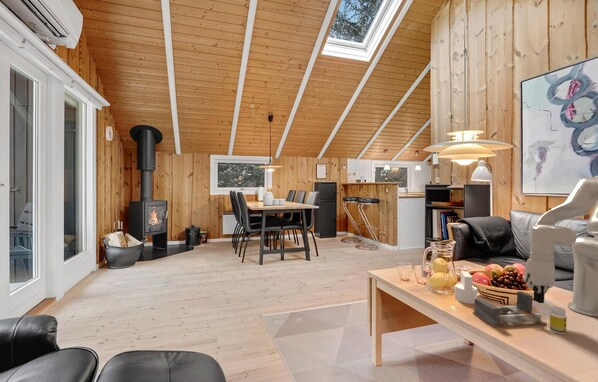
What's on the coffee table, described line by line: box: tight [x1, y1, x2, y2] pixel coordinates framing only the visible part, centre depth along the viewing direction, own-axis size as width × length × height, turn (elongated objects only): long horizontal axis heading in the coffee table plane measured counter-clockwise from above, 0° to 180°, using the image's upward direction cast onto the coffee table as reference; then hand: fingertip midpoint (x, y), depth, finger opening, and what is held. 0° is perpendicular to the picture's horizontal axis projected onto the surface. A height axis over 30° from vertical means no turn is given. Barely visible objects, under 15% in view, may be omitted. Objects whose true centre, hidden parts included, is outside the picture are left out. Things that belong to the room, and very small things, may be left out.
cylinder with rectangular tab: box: [454, 270, 478, 305], centre depth 141 cm, size 9×9×12 cm
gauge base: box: [472, 298, 547, 328], centre depth 121 cm, size 22×12×7 cm, turn 97°
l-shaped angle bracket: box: [506, 291, 534, 317], centre depth 120 cm, size 8×9×9 cm
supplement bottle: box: [548, 306, 568, 335], centre depth 112 cm, size 5×5×8 cm
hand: (538, 301), depth 123 cm, fingers closed
